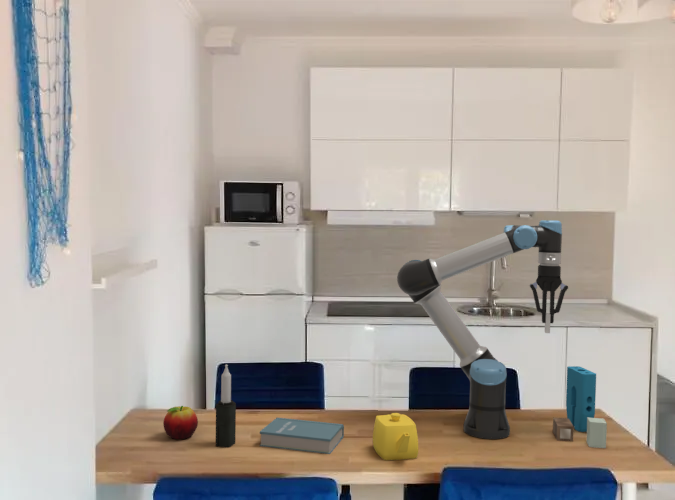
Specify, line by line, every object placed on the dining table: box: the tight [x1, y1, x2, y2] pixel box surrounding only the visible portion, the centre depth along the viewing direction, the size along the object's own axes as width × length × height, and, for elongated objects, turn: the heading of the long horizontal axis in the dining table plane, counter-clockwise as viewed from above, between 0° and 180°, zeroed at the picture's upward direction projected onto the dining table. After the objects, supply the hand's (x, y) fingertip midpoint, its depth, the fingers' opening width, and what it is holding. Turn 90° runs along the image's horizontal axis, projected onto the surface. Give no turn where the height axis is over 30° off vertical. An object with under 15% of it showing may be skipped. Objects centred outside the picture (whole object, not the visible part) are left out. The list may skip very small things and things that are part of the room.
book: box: [259, 417, 345, 455], centre depth 206 cm, size 23×16×5 cm
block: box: [565, 365, 597, 433], centre depth 225 cm, size 12×5×20 cm, turn 8°
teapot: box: [372, 412, 419, 461], centre depth 197 cm, size 20×12×12 cm, turn 12°
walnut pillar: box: [552, 417, 575, 442], centre depth 215 cm, size 5×5×9 cm
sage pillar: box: [585, 417, 608, 449], centre depth 207 cm, size 5×5×8 cm
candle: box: [215, 364, 237, 448], centre depth 201 cm, size 5×5×25 cm
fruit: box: [163, 405, 199, 440], centre depth 208 cm, size 11×11×10 cm
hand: (547, 332), depth 227 cm, fingers closed
